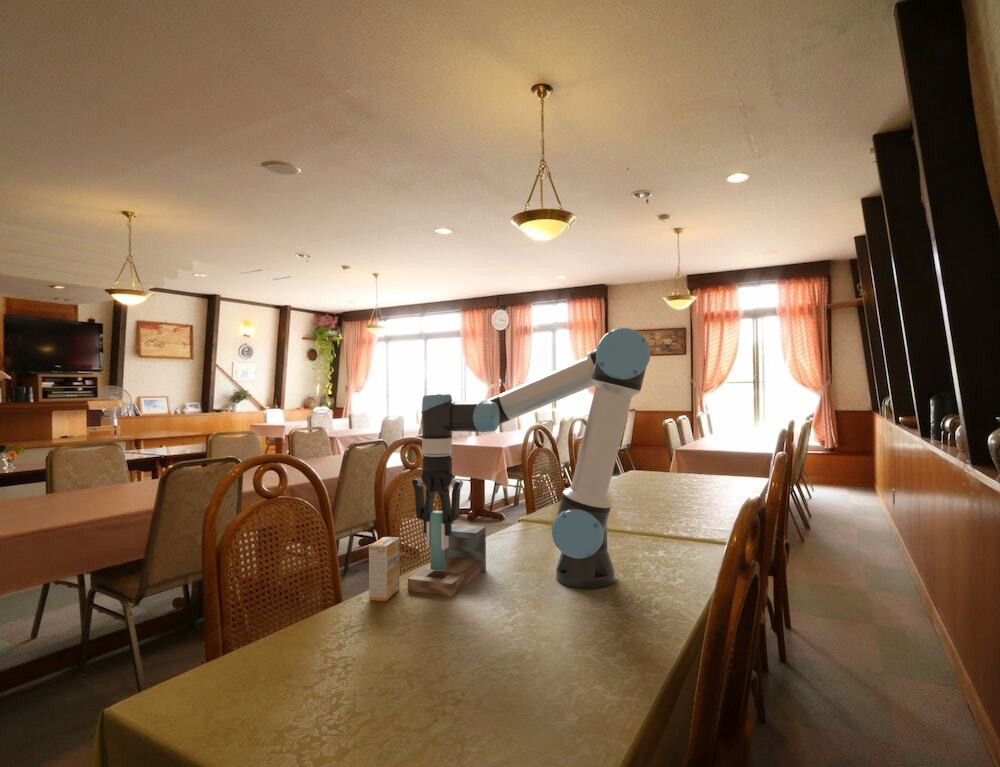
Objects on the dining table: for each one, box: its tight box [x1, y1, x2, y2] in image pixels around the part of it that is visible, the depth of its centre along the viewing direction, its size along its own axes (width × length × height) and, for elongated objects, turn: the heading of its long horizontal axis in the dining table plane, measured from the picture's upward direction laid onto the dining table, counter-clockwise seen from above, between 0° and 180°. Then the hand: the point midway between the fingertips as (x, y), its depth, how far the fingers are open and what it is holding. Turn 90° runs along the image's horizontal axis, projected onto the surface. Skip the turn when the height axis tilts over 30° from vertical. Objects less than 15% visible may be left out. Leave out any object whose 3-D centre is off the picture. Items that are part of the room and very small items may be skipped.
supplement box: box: [368, 536, 400, 602], centre depth 133 cm, size 8×5×13 cm, turn 168°
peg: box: [429, 510, 445, 570], centre depth 138 cm, size 4×4×14 cm
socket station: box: [407, 523, 487, 597], centre depth 143 cm, size 14×20×12 cm
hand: (437, 547), depth 138 cm, fingers closed on peg, 3 cm apart
